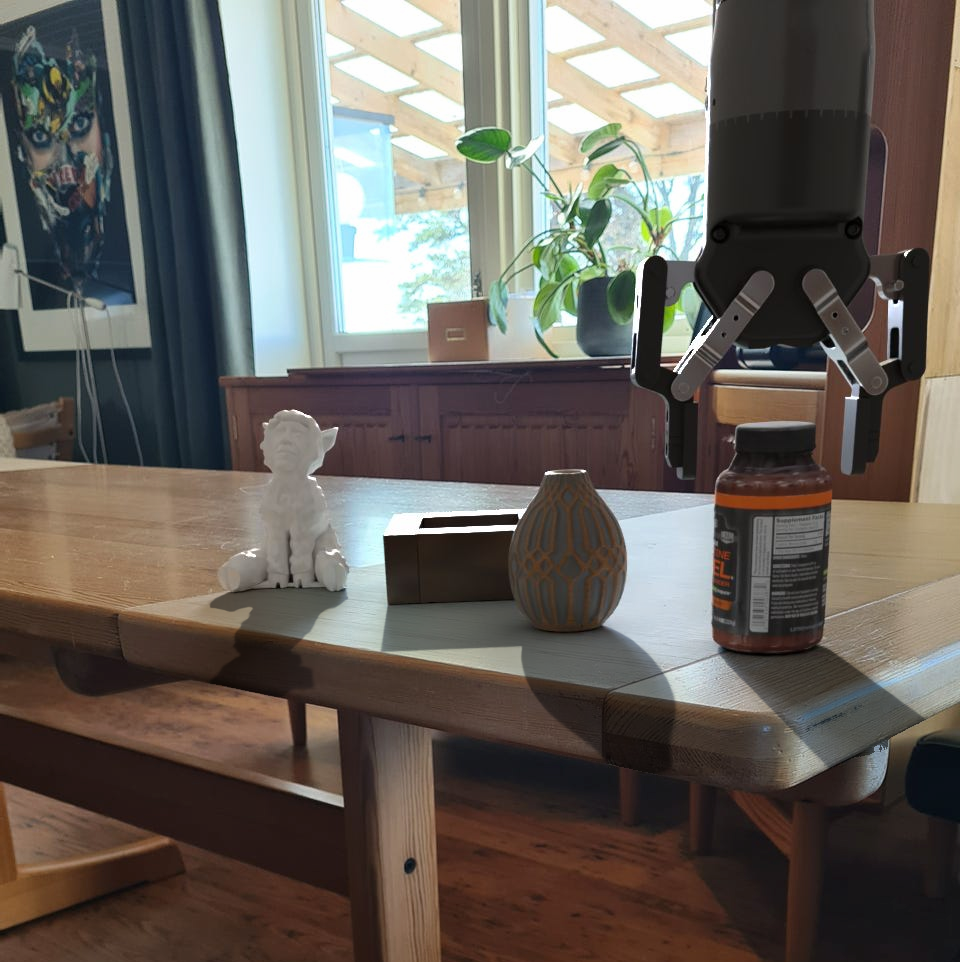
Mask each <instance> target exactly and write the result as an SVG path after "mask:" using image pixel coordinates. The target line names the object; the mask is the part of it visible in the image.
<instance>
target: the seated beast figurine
mask: <svg viewBox="0 0 960 962" xmlns="http://www.w3.org/2000/svg"><path fill="white" fill-rule="evenodd" d="M261 425H262V428H263V429H264V430H263V435H264V437H263V441H261V442H260V444H259V449H260V450H261V451H262V453H263V457H264V458H263V465H264V466H267V467H268V469H270V471H271V473H272V474H273V476H271V478H270V479H269V481H268V482H266V483H265V484H264V486H263V489H264V493H263V495H262V496H261V501H260V504H259V508H258V512H259V514H260V515H261V520H262V521H263V522H264V524H265V526H264V529H265V534H264V535H263V536H262V537H260V545H259V546H258V547H256V548H251V549H249V550H243V551H241V552H238V553H237V554H235V555H232V556H231V557H229V558H228V561H226V562H225V563H224V564H223V565H221V566H220V567H218V569H217V574H216V575H217V579H218V583H219V585H220V586H221V588H222V589H224V590H226V591H229V592H231V593H236V592H243V591H247V590H252V589H270V588H271V589H276V588H277V587H279V586H280V587H279V588H281V589H284V588H287V587H295V588H297V589H298V588H300V587H302V588H303V589H304V588H326V589H327V591H330V592H335V591H336V592H340V591H341V590H344V588H345V587H347V584H348V575H349V573H350V569H351V568H350V566H349V564H348V563H347V558H346V557H344V555H343V552H342V547H343V546H342V545H341V544H342V543H340V542H339V536H338V535H337V534H336V533H337V532H336V529H335V528H334V527H333V525H332V521H331V520H330V519H329V511H328V509H327V507H328V504H327V502H326V496H325V495H324V494H323V493H324V490H323V488H322V487H320V486H319V484H318V483H319V482H318V481H317V479H316V478H315V477H311V476H310V475H312V474H313V473H314V472H316V470H317V469H319V468H322V466H323V463H324V458H325V456H326V455H325V454H326V452H329V451H330V450H331V449H332V448H333V447H334V445H335V443H336V439H337V435H338V431H339V427H336V426H335V427H333V428H328V429H324V430H321V429H320V426H319V424H318V423H317V420H315V418H313V417H312V416H311V415H307V414H304V413H303V412H301V411H298V410H295V409H291V410H286V409H283V410H280V411H278V412H276V413H275V414H274V415H273V418H270V419H269V420H268V422H262V424H261Z"/></svg>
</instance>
